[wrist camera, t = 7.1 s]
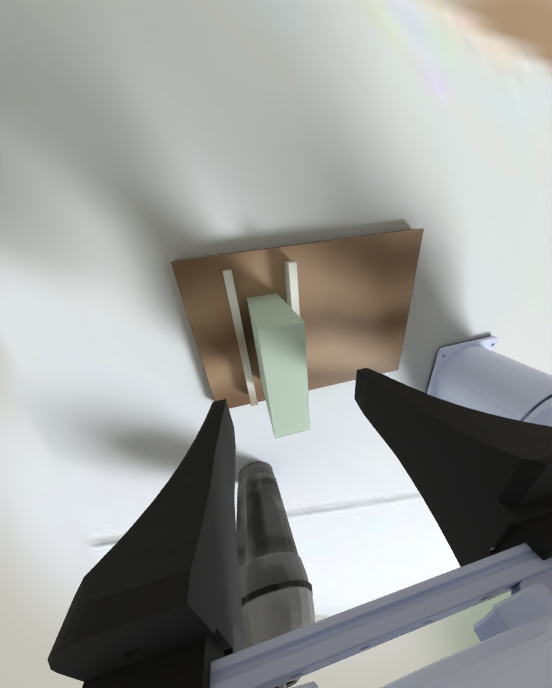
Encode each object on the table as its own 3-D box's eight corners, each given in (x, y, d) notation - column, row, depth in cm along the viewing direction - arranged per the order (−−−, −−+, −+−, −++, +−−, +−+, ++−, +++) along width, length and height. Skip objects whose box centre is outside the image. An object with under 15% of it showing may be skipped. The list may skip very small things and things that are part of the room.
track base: (390, 364, 25) (407, 377, 23) (218, 403, 22) (217, 422, 20) (412, 229, 19) (439, 227, 16) (174, 260, 16) (165, 264, 14)
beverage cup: (283, 450, 28) (384, 821, 10) (281, 485, 31) (355, 813, 13) (225, 459, 26) (225, 912, 9) (229, 495, 29) (234, 879, 12)
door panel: (285, 373, 21) (310, 429, 15) (260, 379, 21) (275, 438, 14) (276, 293, 17) (304, 322, 11) (246, 298, 17) (257, 330, 11)
